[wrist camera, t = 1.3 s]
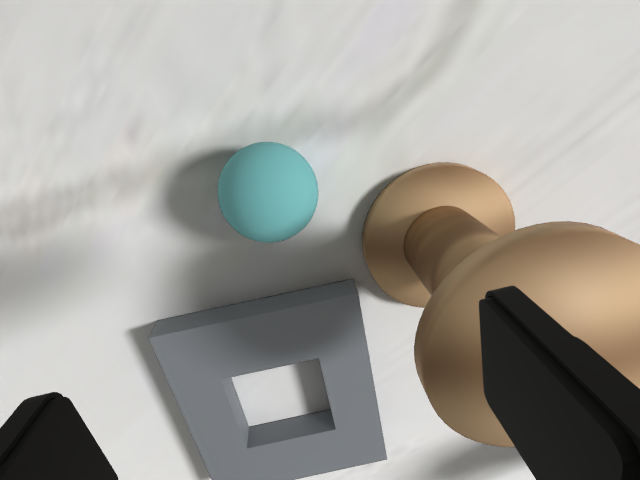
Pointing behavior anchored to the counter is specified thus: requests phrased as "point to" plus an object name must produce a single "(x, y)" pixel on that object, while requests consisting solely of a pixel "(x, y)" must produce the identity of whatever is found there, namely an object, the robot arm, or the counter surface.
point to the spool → (493, 281)
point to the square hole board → (266, 353)
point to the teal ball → (267, 192)
